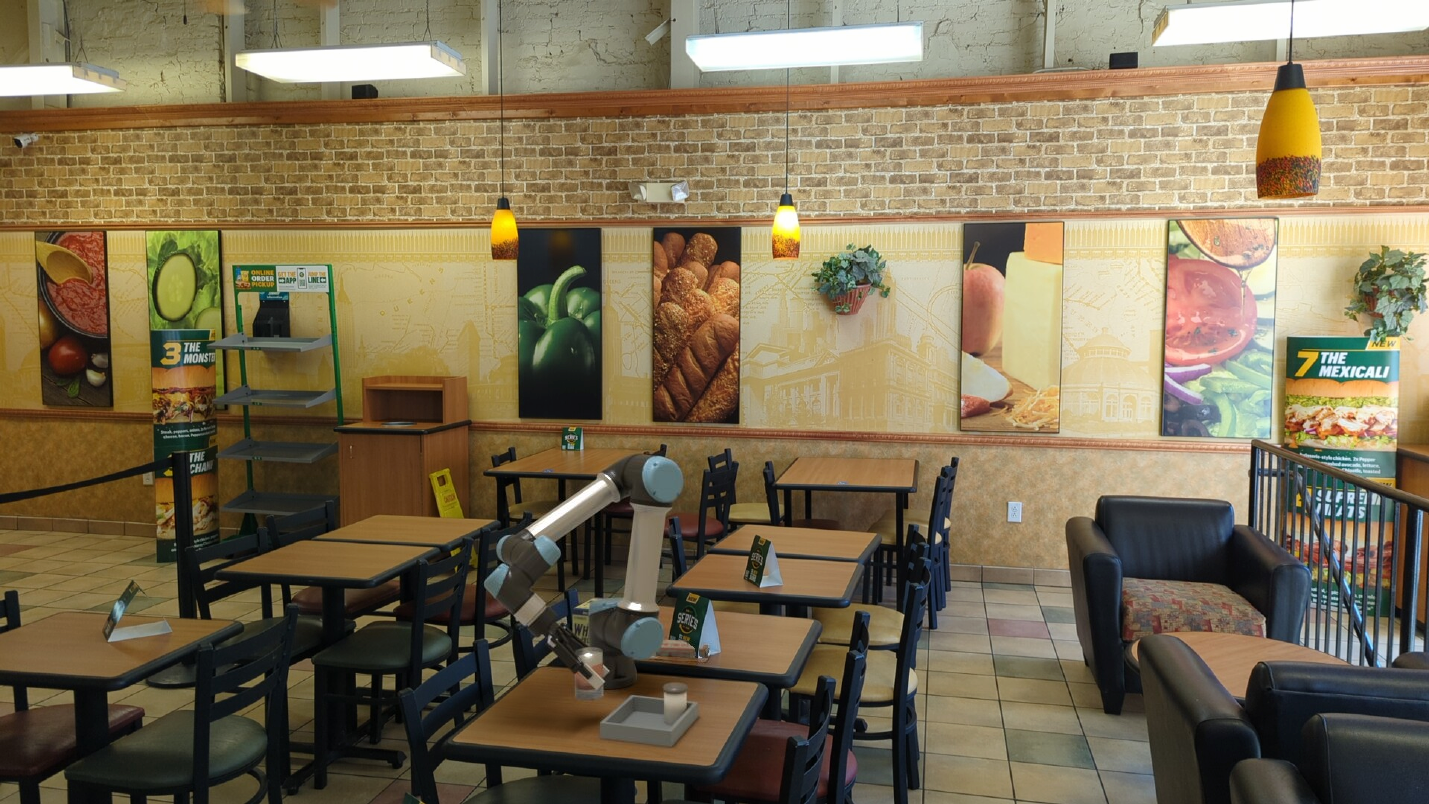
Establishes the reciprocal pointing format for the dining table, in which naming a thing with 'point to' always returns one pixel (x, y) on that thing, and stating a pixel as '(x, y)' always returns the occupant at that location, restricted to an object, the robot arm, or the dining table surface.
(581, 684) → the clear orange banded jar
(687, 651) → the packaged product
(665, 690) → the cup lid
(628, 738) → the grey tray
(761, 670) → the dining table surface
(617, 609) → the robot arm
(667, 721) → the capped white cylinder
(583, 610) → the protein box
